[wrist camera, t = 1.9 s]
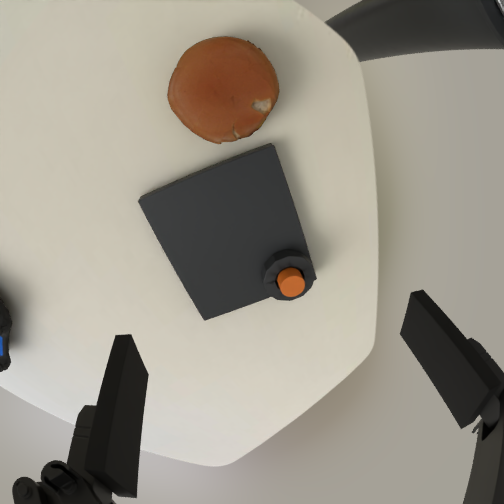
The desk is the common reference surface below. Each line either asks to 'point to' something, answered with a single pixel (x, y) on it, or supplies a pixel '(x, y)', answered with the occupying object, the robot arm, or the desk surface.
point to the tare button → (291, 282)
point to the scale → (231, 231)
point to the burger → (223, 89)
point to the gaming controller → (4, 337)
